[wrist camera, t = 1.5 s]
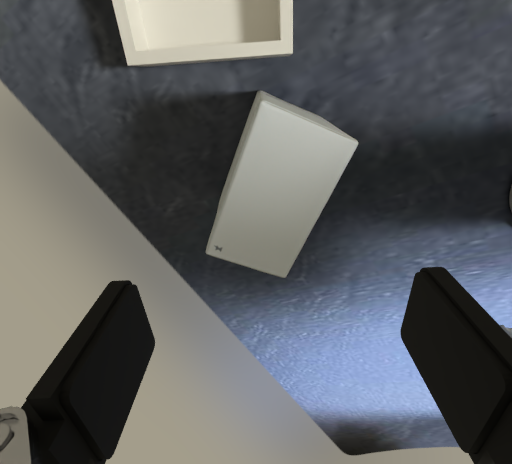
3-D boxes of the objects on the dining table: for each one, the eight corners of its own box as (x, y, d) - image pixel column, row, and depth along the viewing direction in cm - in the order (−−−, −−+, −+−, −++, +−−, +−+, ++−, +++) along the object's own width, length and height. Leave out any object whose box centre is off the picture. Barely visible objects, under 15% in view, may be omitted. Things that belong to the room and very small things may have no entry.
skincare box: (279, 218, 30) (286, 282, 20) (220, 196, 29) (199, 254, 19) (327, 117, 25) (364, 143, 16) (258, 87, 24) (254, 96, 15)
